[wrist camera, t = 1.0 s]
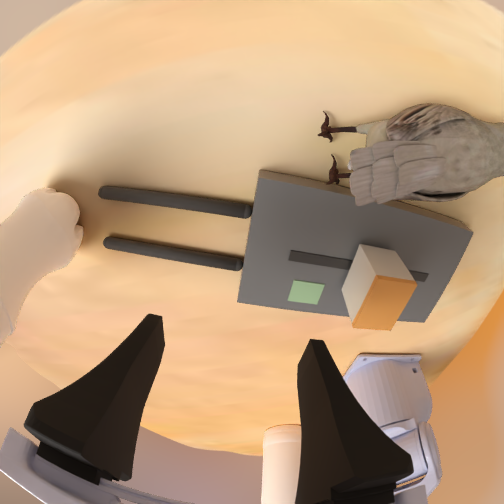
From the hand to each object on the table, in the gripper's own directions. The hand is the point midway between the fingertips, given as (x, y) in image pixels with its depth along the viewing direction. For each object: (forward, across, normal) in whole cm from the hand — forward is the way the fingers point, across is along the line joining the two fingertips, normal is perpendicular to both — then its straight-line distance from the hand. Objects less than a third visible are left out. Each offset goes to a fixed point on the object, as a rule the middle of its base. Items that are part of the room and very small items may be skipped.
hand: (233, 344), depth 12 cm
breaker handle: (+8, -9, 0) cm, 12 cm away
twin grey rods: (+10, +6, 0) cm, 12 cm away
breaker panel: (+10, -9, 0) cm, 14 cm away
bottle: (+11, -12, +36) cm, 39 cm away
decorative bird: (+11, -11, -10) cm, 19 cm away
